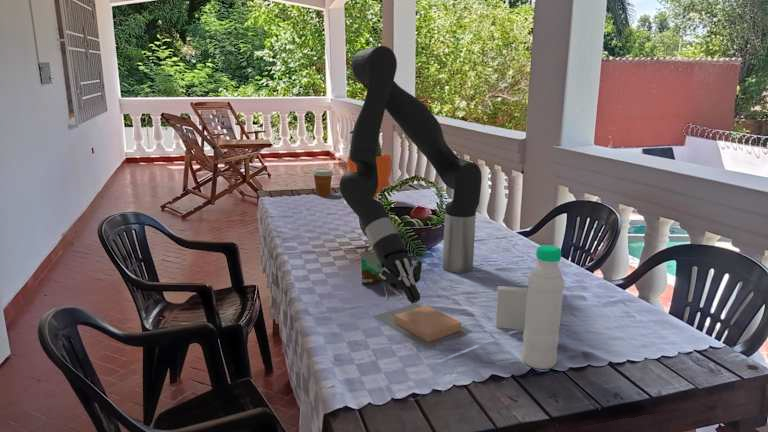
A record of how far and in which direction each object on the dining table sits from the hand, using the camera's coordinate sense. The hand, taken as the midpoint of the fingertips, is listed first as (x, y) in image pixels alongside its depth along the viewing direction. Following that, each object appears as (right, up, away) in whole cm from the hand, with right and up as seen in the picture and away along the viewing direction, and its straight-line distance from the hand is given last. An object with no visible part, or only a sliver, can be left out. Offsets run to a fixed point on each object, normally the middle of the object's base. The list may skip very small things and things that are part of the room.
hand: (416, 301), depth 134 cm
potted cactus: (-14, +26, +123) cm, 127 cm away
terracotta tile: (-1, -3, +2) cm, 4 cm away
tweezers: (-7, -1, +21) cm, 22 cm away
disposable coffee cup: (-37, +30, +137) cm, 145 cm away
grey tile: (+23, -6, -1) cm, 23 cm away
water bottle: (+25, -10, -17) cm, 31 cm away
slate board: (+1, -6, -1) cm, 6 cm away
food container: (-10, +2, +28) cm, 30 cm away
